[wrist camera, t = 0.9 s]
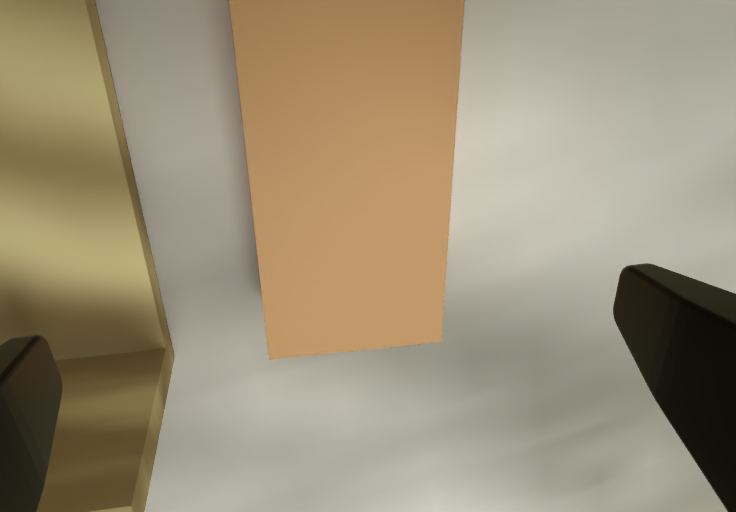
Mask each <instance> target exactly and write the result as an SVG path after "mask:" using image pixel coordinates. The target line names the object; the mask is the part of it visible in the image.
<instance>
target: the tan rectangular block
mask: <svg viewBox="0 0 736 512" xmlns="http://www.w3.org/2000/svg"><path fill="white" fill-rule="evenodd" d="M464 1H465V0H229V4H230V13H231V22H232V31H233V40H234V49H235V58H236V67H237V76H238V85H239V94H240V103H241V112H242V121H243V130H244V139H245V148H246V157H247V166H248V175H249V184H250V193H251V202H252V211H253V220H254V229H255V238H256V247H257V256H258V265H259V274H260V283H261V292H262V301H263V310H264V319H265V328H266V337H267V346H268V355H269V359H279V358H289V357H298V356H308V355H318V354H327V353H337V352H347V351H356V350H366V349H376V348H386V347H395V346H405V345H415V344H424V343H434V342H441V338H442V323H443V308H444V294H445V279H446V264H447V250H448V235H449V221H450V206H451V191H452V177H453V162H454V147H455V133H456V118H457V104H458V89H459V74H460V60H461V45H462V30H463V16H464Z"/></svg>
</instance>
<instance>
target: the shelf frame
mask: <svg viewBox="0 0 736 512" xmlns="http://www.w3.org/2000/svg"><path fill="white" fill-rule="evenodd" d="M28 335H41V336H43V337H45V339H46V340H47V341H48V343H49V346H50V349H51V351H52V354H53V356H54V359H55V362H56V364H57V367H58V369H59V372H60V375H61V378H62V383H63V392H62V398H61V403H60V409H59V414H58V419H57V425H56V430H55V435H54V441H53V446H52V451H51V457H50V462H49V467H48V472H47V477H46V481H45V486H44V489H43V493H42V496H41V500H40V503H39V506H38V509H37V512H144V510H145V505H146V500H147V495H148V490H149V485H150V480H151V475H152V470H153V464H154V459H155V454H156V449H157V444H158V439H159V434H160V429H161V423H162V418H163V413H164V408H165V403H166V398H167V393H168V388H169V382H170V377H171V372H172V367H173V362H174V352H173V348H172V344H171V339H170V335H169V330H168V326H167V321H166V317H165V312H164V308H163V303H162V299H161V294H160V290H159V285H158V281H157V277H156V272H155V268H154V263H153V259H152V254H151V250H150V245H149V241H148V236H147V232H146V227H145V223H144V218H143V214H142V210H141V205H140V201H139V196H138V192H137V187H136V183H135V178H134V174H133V169H132V165H131V160H130V156H129V152H128V147H127V143H126V138H125V134H124V129H123V125H122V120H121V116H120V111H119V107H118V102H117V98H116V93H115V89H114V85H113V80H112V76H111V71H110V67H109V62H108V58H107V53H106V49H105V44H104V40H103V35H102V31H101V26H100V22H99V18H98V13H97V9H96V4H95V0H0V345H1V344H3V343H4V342H6V341H7V340H9V339H11V338H13V337H20V336H28Z"/></svg>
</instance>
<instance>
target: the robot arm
mask: <svg viewBox="0 0 736 512" xmlns="http://www.w3.org/2000/svg"><path fill="white" fill-rule="evenodd" d="M613 314H614V319H615V322H616V324H617V326H618V328H619V330H620V332H621V334H622V336H623V338H624V340H625V342H626V344H627V346H628V348H629V350H630V352H631V354H632V356H633V358H634V360H635V362H636V364H637V366H638V368H639V370H640V372H641V374H642V376H643V378H644V380H645V382H646V384H647V386H648V387H649V389H650V391H651V393H652V395H653V396H654V398H655V400H656V401H657V403H658V405H659V406H660V408H661V410H662V411H663V413H664V414H665V416H666V417H667V419H668V420H669V422H670V424H671V425H672V427H673V428H674V430H675V431H676V433H677V434H678V436H679V437H680V439H681V440H682V442H683V443H684V445H685V447H686V448H687V450H688V451H689V453H690V454H691V456H692V457H693V459H694V460H695V462H696V463H697V465H698V467H699V468H700V470H701V471H702V473H703V474H704V476H705V477H706V479H707V480H708V482H709V483H710V485H711V486H712V488H713V490H714V491H715V493H716V494H717V496H718V497H719V499H720V500H721V502H722V503H723V505H724V506H725V508H726V510H727V511H728V512H736V294H735V293H732V292H729V291H726V290H723V289H721V288H718V287H715V286H712V285H709V284H707V283H704V282H701V281H698V280H695V279H693V278H690V277H687V276H684V275H681V274H679V273H676V272H673V271H670V270H667V269H664V268H662V267H659V266H656V265H653V264H647V263H645V264H637V265H629V266H626V267H625V268H623V270H622V271H621V274H620V277H619V282H618V287H617V292H616V297H615V302H614V307H613ZM62 392H63V383H62V378H61V375H60V372H59V369H58V367H57V364H56V362H55V359H54V356H53V354H52V351H51V349H50V346H49V343H48V341H47V340H46V339H45V337H43V336H41V335H28V336H20V337H13V338H11V339H9V340H7V341H6V342H4V343H3V344H1V345H0V512H37V509H38V506H39V503H40V500H41V496H42V493H43V489H44V486H45V481H46V477H47V472H48V467H49V462H50V457H51V451H52V446H53V441H54V435H55V430H56V425H57V419H58V414H59V409H60V403H61V398H62Z"/></svg>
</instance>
